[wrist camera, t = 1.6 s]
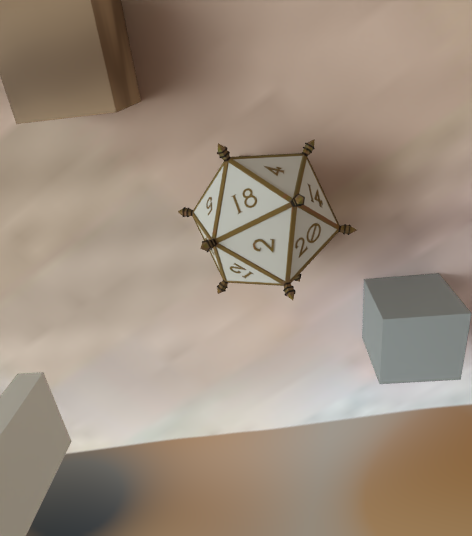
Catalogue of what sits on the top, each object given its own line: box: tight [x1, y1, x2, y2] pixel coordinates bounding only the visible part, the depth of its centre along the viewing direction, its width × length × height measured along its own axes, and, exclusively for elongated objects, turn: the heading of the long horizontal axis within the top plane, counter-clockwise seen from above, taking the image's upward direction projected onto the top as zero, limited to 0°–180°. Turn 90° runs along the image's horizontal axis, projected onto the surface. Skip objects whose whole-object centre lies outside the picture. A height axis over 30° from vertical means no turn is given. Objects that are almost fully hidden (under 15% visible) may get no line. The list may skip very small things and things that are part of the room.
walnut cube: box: [0, 0, 141, 124], centre depth 21 cm, size 5×5×5 cm
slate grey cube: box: [362, 273, 472, 384], centre depth 28 cm, size 5×5×5 cm
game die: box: [178, 139, 356, 300], centre depth 23 cm, size 9×8×10 cm
